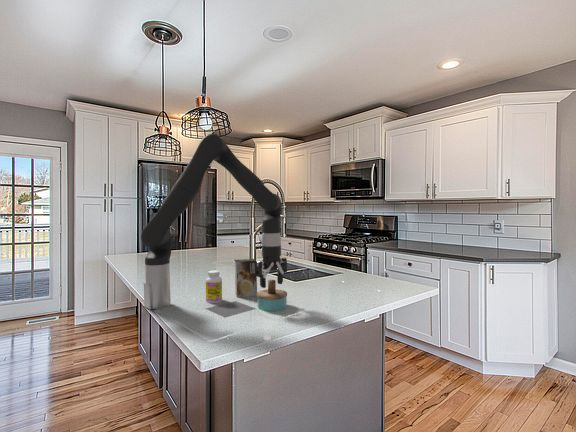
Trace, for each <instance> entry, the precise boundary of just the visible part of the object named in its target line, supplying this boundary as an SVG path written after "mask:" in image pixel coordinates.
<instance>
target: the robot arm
mask: <svg viewBox="0 0 576 432" xmlns="http://www.w3.org/2000/svg"><path fill="white" fill-rule="evenodd" d="M214 161H215V162H216V163H218V164H219V165H220V166H222V167H223V168H224V169H225V170H227V171H228V172H229V173H230V175H231V176H232V177H233V178H234V180H235V181H236V182H237V183H238V184H239V186H240V187H242V188H243V189H244V190H245V191H246V192H247V193H248V194H249V195H250V196H251V197H252V198H253V199H254V201H255V202H256V203H257V205H258V206H259V207H260V208H261V209H262V210H264V211H263V212H264V214H263V215H264V218H262V224H261V225H262V226H261V231H262V232H261V233H262V234H261V256H262V260H256V272H255V276H257V278H259V286H260V287H261V288H263V289H265V288H266V287H267V278H266V277H267V275H268V274H269V273H270V272H271V271H276V273H277V275H276V276H277V284H278V285H282V284H283V282H284V273H287V272H288V264H287V263H288V262H287V261H288V259H287V258H286V257H284V256H282V236H281V215H282V214H281V213H282V199H281V197H280V196H279V195H278V194H277V193H273V192H272V191H271V190H270V189H269V188H268V187H267V186H266V185H265V183H264V182H263V181H262V180H261V179H260V178H259V177H258V175H256V174H255V172H253V171H252V170H251V169H250V168H248V167H247V166H246V165H245V164H244V163H243V162H242V161H240V159H239V158H238V157H237V156H236V155H235V154H234V152H232V150H231V148H230V147H229V146H228V145H227V143H226V140H223V138H222V137H220V136H219V135H218V134H217V133H208V134H206V135H205V136H204V137H203V138H202V139H201V140H200V142H199V143H198V145H197V148H196V150H195V151H194V154H193V155H192V158H191V159H190V161H189V162H188V164H187V166H185V168H184V170H183V172H181V175H180V176H179V177H178V179H177V181H176V182H175V183H174V184H173V186H172V188H171V190H170V191H169V193H168V194H167V196H166V197H165V199H164V200H163V202H162V204H161V206H160V207H159V209H158V210H157V212H156V213H155V214H154V216H153V217H152V218H151V220H150V221H149V222H148V223H147V224H146V226H144V228H143V229H142V231H141V235H140V236H141V237H140V238H141V239H140V240H141V242H142V244H143V245H144V246H145V247H147V248H148V252H147V254H146V256H145V259H144V270H145V271H144V272H145V273H144V275H145V278H144V279H145V281H144V283H143V307H145V308H146V309H148V310H156V309H162V308H166V307H169V306H171V304H172V303H171V302H172V301H171V300H172V299H171V270H170V269H171V267H170V266H171V265H170V264H171V262H170V259H171V255H172V231H171V230H170V229H171V226H172V225H173V224H174V222H175V221H176V220H177V219H178V218H179V216H180V215H182V214H183V213H184V212H185V211H186V210H187V209H188V208H189V207H190V205H191V204H192V203H193V201H194V200H195V198H196V197H197V195H198V194H199V191H200V189H201V187H202V184H203V180H204V177H205V174H206V172H207V170H208V168H209V167H210V165H211V164H212V163H213V162H214Z"/></svg>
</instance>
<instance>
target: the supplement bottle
mask: <svg viewBox="0 0 576 432" xmlns="http://www.w3.org/2000/svg"><path fill="white" fill-rule="evenodd" d="M207 275H208V277H206V279H205V302H206V303H208V304H216V303H221V302H222V301H223V279H222V277H221V276H220V270H216V269H215V270H209V271H207Z"/></svg>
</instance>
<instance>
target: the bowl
mask: <svg viewBox="0 0 576 432" xmlns="http://www.w3.org/2000/svg"><path fill="white" fill-rule="evenodd" d="M287 296H288V295H287ZM287 296H286V297H285V298H281V299H275V300H266V299H260V298H258V297H257V308H258V310H260V311H263V312H279V311H283V310H285V309H287V305H288V304H287V303H288V302H287Z"/></svg>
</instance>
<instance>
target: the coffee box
mask: <svg viewBox="0 0 576 432" xmlns="http://www.w3.org/2000/svg"><path fill="white" fill-rule="evenodd" d="M256 261H257V259H255V258H243V259H242V258H241V259H240V258H239V259H234V285H235V287H234V288H235V289H234V290H235V291H234V293H235V296H236V298H245V297H257V292H258V282H257V281H258V277H257V276H255V272H256Z"/></svg>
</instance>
